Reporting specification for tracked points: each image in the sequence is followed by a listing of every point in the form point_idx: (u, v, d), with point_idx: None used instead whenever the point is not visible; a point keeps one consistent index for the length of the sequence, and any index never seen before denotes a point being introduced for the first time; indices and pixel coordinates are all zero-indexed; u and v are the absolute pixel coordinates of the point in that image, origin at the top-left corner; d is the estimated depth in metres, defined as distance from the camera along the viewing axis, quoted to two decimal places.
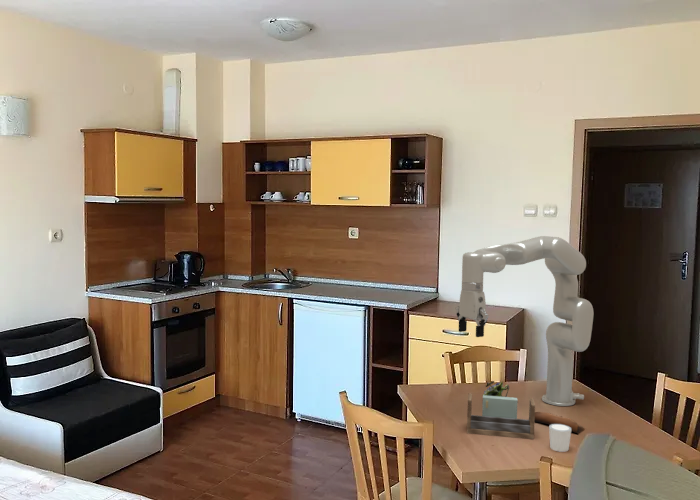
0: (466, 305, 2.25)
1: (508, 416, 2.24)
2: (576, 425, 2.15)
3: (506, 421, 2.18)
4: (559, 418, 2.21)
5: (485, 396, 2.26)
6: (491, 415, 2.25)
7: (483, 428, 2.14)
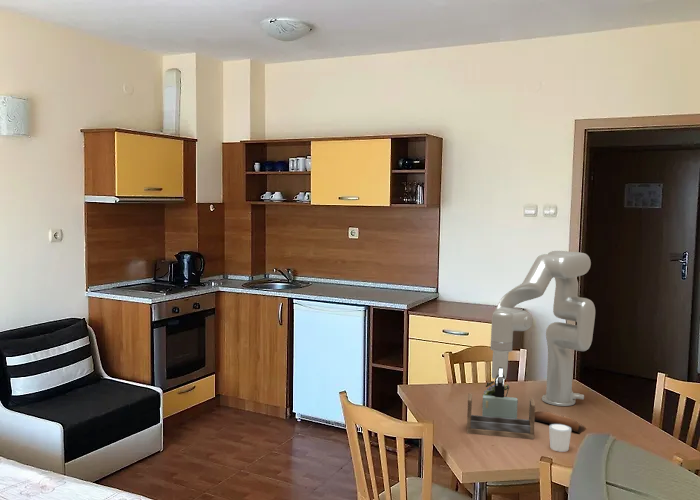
0: None
1: (508, 416, 2.24)
2: (577, 424, 2.16)
3: (506, 421, 2.18)
4: (560, 417, 2.21)
5: (485, 396, 2.26)
6: (491, 415, 2.25)
7: (483, 428, 2.14)
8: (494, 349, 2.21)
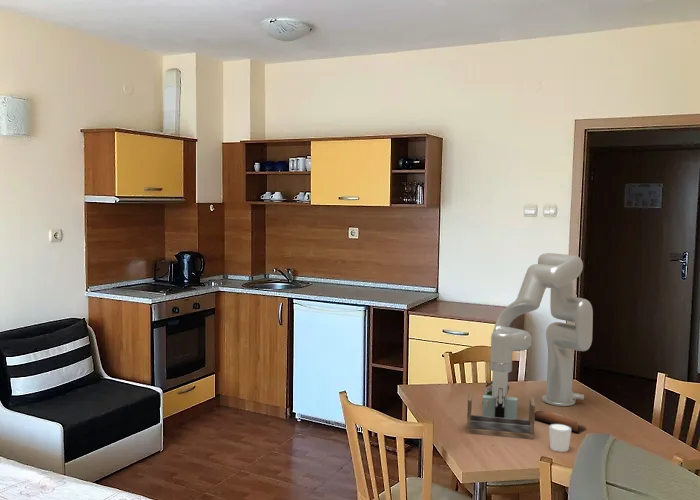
0: None
1: (508, 416, 2.24)
2: (577, 424, 2.16)
3: (506, 421, 2.18)
4: (561, 417, 2.22)
5: (485, 396, 2.26)
6: (491, 415, 2.25)
7: (483, 428, 2.14)
8: (494, 370, 2.22)
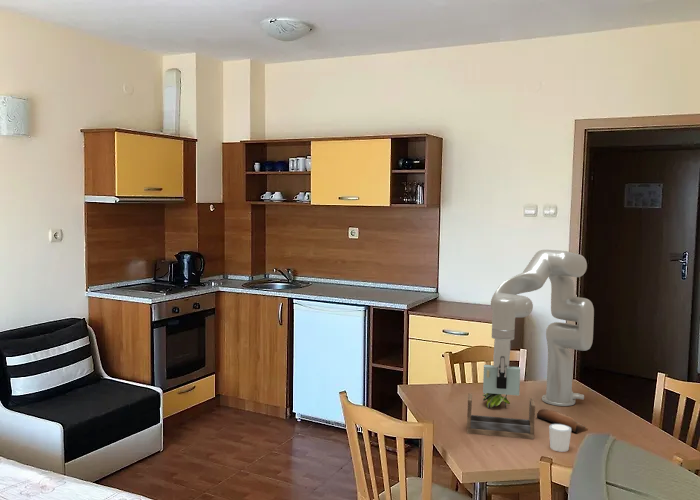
0: None
1: (510, 386, 2.13)
2: (575, 424, 2.16)
3: (506, 421, 2.18)
4: (562, 417, 2.22)
5: (486, 365, 2.16)
6: (492, 385, 2.14)
7: (483, 428, 2.14)
8: (495, 337, 2.11)
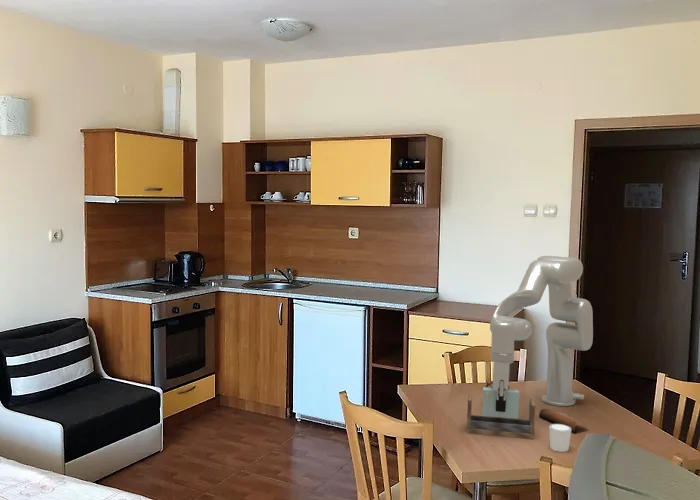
0: None
1: (509, 409, 2.13)
2: (574, 424, 2.16)
3: (506, 421, 2.18)
4: (562, 416, 2.22)
5: (485, 388, 2.16)
6: (492, 408, 2.15)
7: (483, 428, 2.14)
8: (495, 361, 2.12)
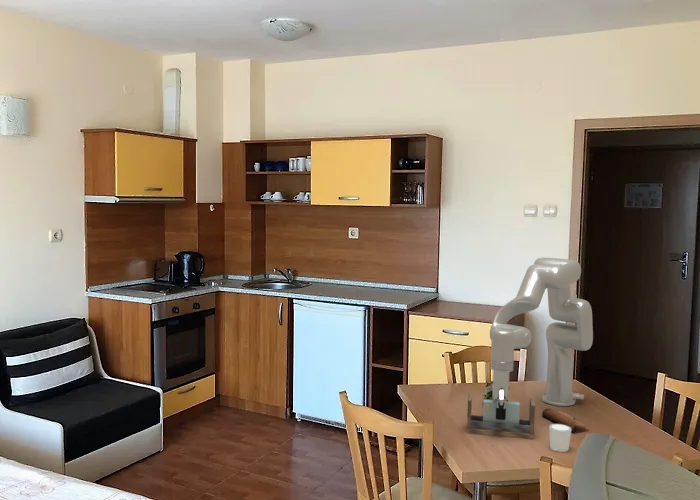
0: None
1: (510, 421, 2.14)
2: (573, 424, 2.16)
3: None
4: (563, 416, 2.23)
5: (486, 400, 2.17)
6: (492, 420, 2.15)
7: (483, 428, 2.14)
8: (494, 369, 2.12)
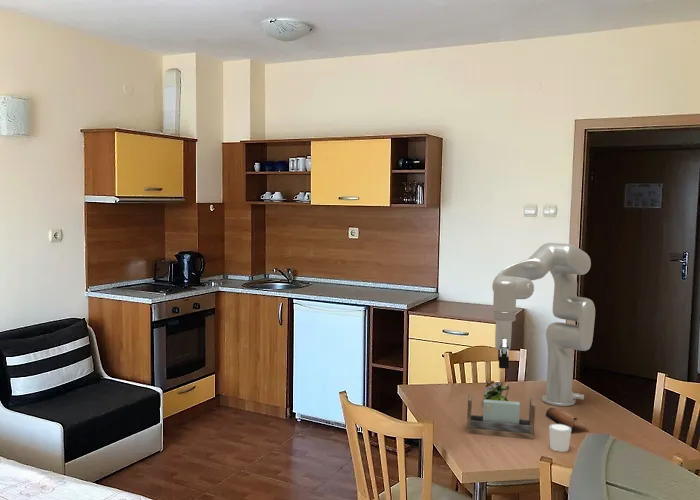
0: None
1: (510, 421, 2.14)
2: (572, 424, 2.16)
3: None
4: (564, 416, 2.23)
5: (486, 400, 2.17)
6: (492, 420, 2.15)
7: (483, 428, 2.14)
8: (497, 319, 2.14)
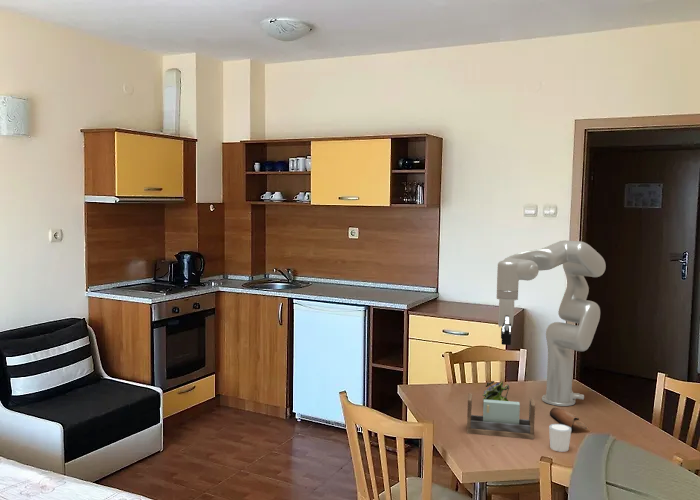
0: None
1: (510, 421, 2.14)
2: (571, 424, 2.17)
3: None
4: (565, 416, 2.23)
5: (486, 400, 2.17)
6: (492, 420, 2.15)
7: (483, 428, 2.14)
8: (500, 298, 2.25)
